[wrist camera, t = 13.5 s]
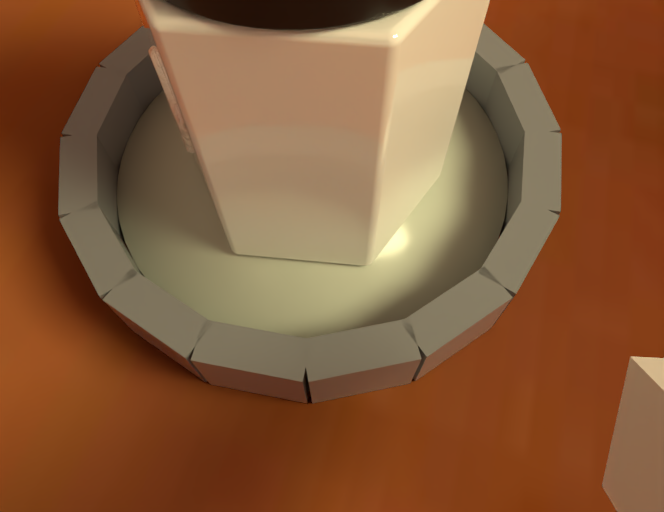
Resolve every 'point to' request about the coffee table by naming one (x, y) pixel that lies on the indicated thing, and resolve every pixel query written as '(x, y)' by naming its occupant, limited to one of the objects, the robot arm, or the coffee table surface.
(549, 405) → the coffee table surface
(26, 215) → the coffee table surface
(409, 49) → the jar
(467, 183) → the ring dish
